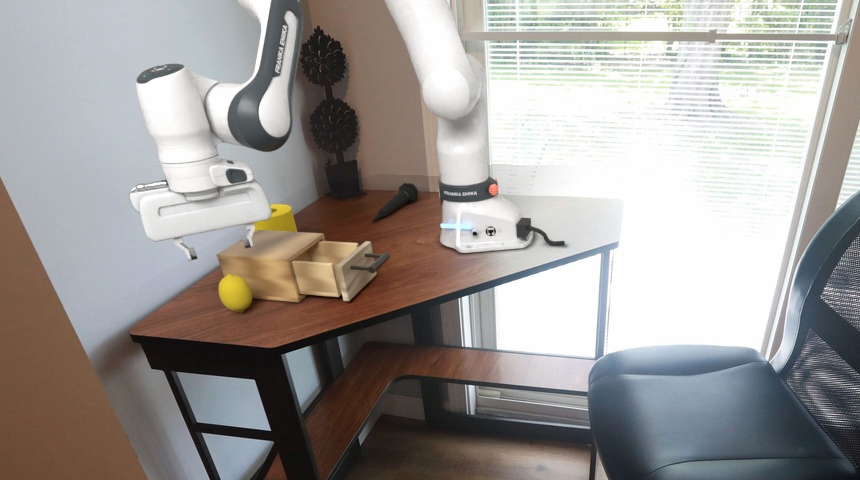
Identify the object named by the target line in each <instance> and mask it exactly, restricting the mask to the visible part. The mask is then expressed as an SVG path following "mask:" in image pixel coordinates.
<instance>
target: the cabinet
mask: <svg viewBox="0 0 860 480" xmlns="http://www.w3.org/2000/svg"><path fill="white" fill-rule="evenodd" d="M251 239H252V242H253V246H254V247H251V248H246V249H245V247H244V244H243V241H242V239H240V240H239V241H237V242H235V243H234V244H231V245H230V246H229V247H227V248H225V249H223V250H222V251H219V253H217V254H216V258H217V260H218V263H219V266H220V269H221V272H222V274H223V278H224V277H226V276H227V275H228V274H232V275H237V276H240V277H242V278H243V279H244V280H245V281H246V282H247V283H248V285H249V286H250V289H251V292H252V299H255V300H256V299H258V300H268V301H280V302H290V303H300V302H302V301H303V300H304V299H305V298H306V297H307V296H309V295H308V294H299V292H298V288H297V285H296V281H295V277H294V274H293V270H292V266H291V263H290V261H292V260H293V259H295V258H296V257H297V256H299V255H300V254H302V253H303V252H304V251H306V250H307V249H308V248H310V247H311V246H313V245H314V244H315V243H317V242H318V241H326V237H325V234H324V233H323V232H322V233H321V232H306V231H305V232H304V231H297V232H289V231H271V230H257V231H256V232H254V233H253V236H252V238H251Z"/></svg>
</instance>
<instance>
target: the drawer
mask: <svg viewBox="0 0 860 480" xmlns="http://www.w3.org/2000/svg"><path fill="white" fill-rule="evenodd" d="M390 258H391V255H390V253H389V252H387V251H386V252H385V251H384V253H374V252H373V246H372V241H369V240H365V241H364V242H363V243H361V244H360V245H359V243H358V242H348V241H346V242H345V241H332V240H330V241H329V240H325V241H318V242H317V243H315V244H314V245H313V246H311V247H310V248H308V249H307V250H306V251H304V252H303V253H302V254H300V255H299V256H297V257H296V258H295V259H293V260H292V261H290V263H291V266H292V270H293V274H294V277H295V281H296V285H297V288H298V292H299V294H308V295H307V296H322V297H331V298H339V297H341V296H342V301H344V302H350V301H351V300H352V299H353V298H354V297H355V296H356V295H357V294H358V293H359V292H361V290H362V289H363V288H364V287H365V286H367V284H368V283H369V282H371V281H372V280H373V279H374V278H375V277H376V276H377V275H378V273H377V271H378V270H379V269H380V268H381V267H382V266H383V265H384V264H385V263H386V262H387V261H388V260H389V259H390ZM375 259H376V260H375Z"/></svg>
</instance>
